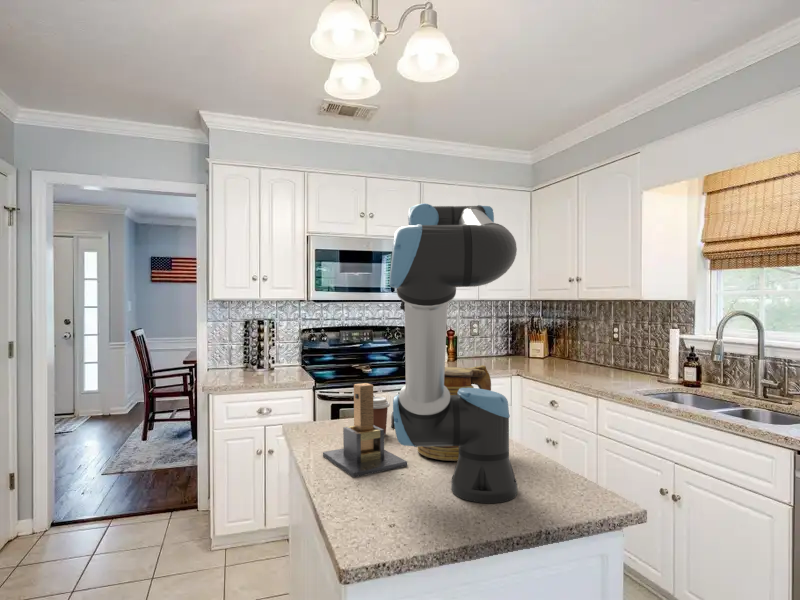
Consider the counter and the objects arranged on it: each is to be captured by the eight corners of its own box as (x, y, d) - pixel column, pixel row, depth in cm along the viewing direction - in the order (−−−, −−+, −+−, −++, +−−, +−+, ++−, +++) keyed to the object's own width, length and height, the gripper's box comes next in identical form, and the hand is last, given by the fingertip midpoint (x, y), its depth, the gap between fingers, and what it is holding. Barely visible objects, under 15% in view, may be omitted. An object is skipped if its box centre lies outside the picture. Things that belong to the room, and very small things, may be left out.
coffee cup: (357, 433, 162) (357, 398, 162) (379, 429, 168) (379, 394, 168) (372, 439, 155) (372, 402, 155) (395, 435, 160) (395, 398, 160)
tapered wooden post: (373, 457, 133) (373, 385, 133) (359, 460, 131) (359, 386, 131) (367, 453, 137) (366, 383, 137) (353, 456, 135) (353, 384, 135)
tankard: (407, 448, 146) (406, 365, 146) (473, 438, 155) (473, 361, 155) (434, 466, 129) (434, 373, 129) (507, 455, 138) (506, 368, 139)
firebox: (407, 465, 130) (406, 432, 130) (353, 477, 121) (353, 441, 121) (372, 447, 147) (371, 417, 147) (323, 456, 138) (322, 424, 138)
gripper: (459, 257, 129) (460, 336, 129) (409, 264, 150) (410, 332, 150) (436, 256, 125) (437, 337, 125) (388, 263, 146) (389, 333, 146)
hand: (422, 335), depth 137 cm, fingers open, 13 cm apart
